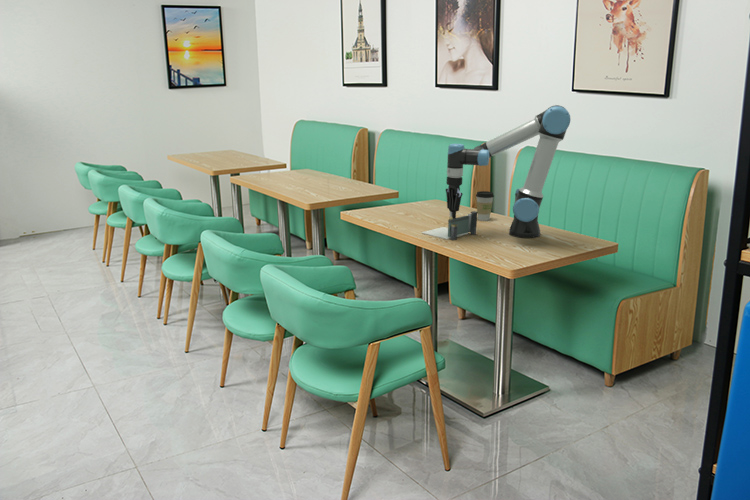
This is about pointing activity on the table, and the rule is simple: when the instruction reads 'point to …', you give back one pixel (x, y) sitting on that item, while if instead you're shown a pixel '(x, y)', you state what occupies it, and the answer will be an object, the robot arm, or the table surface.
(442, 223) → the table surface
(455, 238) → the post
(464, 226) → the gate
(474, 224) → the hinge post
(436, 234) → the mat
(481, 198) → the coffee cup
